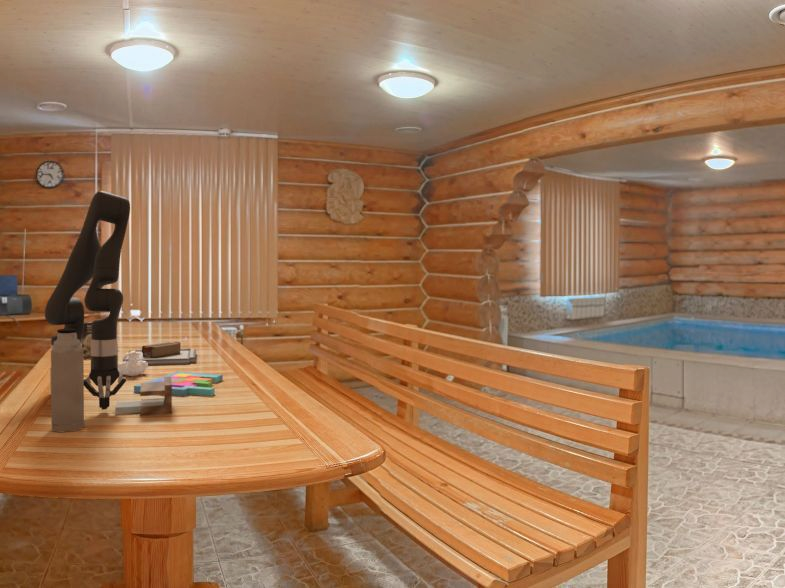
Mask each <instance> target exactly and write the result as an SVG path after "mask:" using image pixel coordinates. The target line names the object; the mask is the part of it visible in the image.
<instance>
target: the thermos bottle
mask: <svg viewBox="0 0 785 588" xmlns="http://www.w3.org/2000/svg"><path fill="white" fill-rule="evenodd" d="M56 332H57V333H58V335H57V340H56V341H54V345H53V346H54V349H52V350H51V349H50V368H51V385H50V396H51V398H50V399H51V406H50V407H51V431H52V430H54V431H53V432H55V431H70V432H74V431H75V430H76V431H80V430H82V429H83V428H84V427H85V404H84V403H85V392H84V390H85V386H84V379H85V378H84V373H85V371H84V367H85V365H84V362H85V361H84V357H83V348H81V341H80V340H78V339H77V334H76V332H77V329H64V328H60V329H57V331H56ZM76 431H75V432H76Z"/></svg>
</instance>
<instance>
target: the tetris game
mask: <svg viewBox="0 0 785 588" xmlns="http://www.w3.org/2000/svg"><path fill="white" fill-rule="evenodd" d="M164 377H171V382H172V396H175V397H176V396H177V397H185V396H188V394H191V395H192V396H203V397H204V396H205V397H212V396H214V395H215V393H216V392H215V387H212V385H213V384H217V383H216V382H218V383H219V381H220V382H222V381H224V380H223V374H220V373H219V374H218V373H217V374H216V373H207V372H206V373H205V372H193V371H192V372H191V371H190V372H189V371H175V372H171V373H169V374H165V375H163V376H160V377H157V378H154V379H151V380H148V381H144V382H143V383H149V382H164ZM221 380H222V381H221ZM140 390H141V383H139V384H136V385H133V393H137V394H138V393H139V394H140ZM191 395H190V396H191Z"/></svg>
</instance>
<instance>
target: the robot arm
mask: <svg viewBox="0 0 785 588" xmlns="http://www.w3.org/2000/svg"><path fill="white" fill-rule="evenodd" d="M130 213H131V203H130V200H129V199H128V198H126V197H124V196H120V195H117V194H113V193H112V192H111V193H110V192H107V191H103V190H98V191H97V192H95V194H94V195H93V196H92V199H91V202H90V205H89V206H88V210H87V213H86V215H85V218H84V221H83V224H82V228H81V231H80V233H79V235H78V237H77V239H76V242H75V244H74V247H73V249H72V250H71V252H70V256H69V258H68V261H67V263H66V265H65V268H64V270H63V272H62V274H61V277H60V279H59V281H58V283H57V285H56V286H55V288H54V290H53V292H52V294H51V295H50V297H49V299H48V300H47V302H46V305H45V309H44V318H45V321H46V322H47V323H48V324H49V325H51V326H63V329H77V332H76V334H77V339H78V340H80V341H82V337H83V331H84V322H85V308H86V310H88V311H90V312H94V313H95V312H108V313H109V314H108V315H107V317H104V318H99V319H95V320H93V321H91V322H92V341H91V357H90V372H89V374H88V376H87V377H86V378H84V389H86V390H88V392H89V393H90V394H91V396H93V397H96V398H98V407H99V408H100V409H101V410H103V411H104V410H107V409H108V408H109V407H110V403H111V402H110V397H112V396H115V395H116V394H117V393H118V392H119V390H121V388H122V387H123V386H124V384H126V382H127V377H124V376H123V375H120V373H119V371H118V364H119V361H118V359H119V357H118V356H119V355H118V354H119V346H118V345H119V344H118V331H117V330H118V320H119V316H120V312H121V309H122V306H123V303H124V295H123V292H121V290H120V289H118V288H104V287H105V286H108V285H111V284H115V283H117V282H118V280H119V274H120V263H121V262H120V261H121V255H122V254H121V253H122V248H123V244H124V240H125V237H126V232H127V226H128V222H129V219H130ZM99 221H101V222H105V223H109V224H113V225H114V227H113V228H114V229H113V232H112V234H111V235H110V236H109V237H108V239H107V240H106V241H105V242H104V243H103V244H102V245H101V243H100V240H99V236H98V231H97V228H98V227H97V226H98V225H99ZM90 280H91V281H90ZM89 281H90V284H89V285H88V289H87V291H86V293H85V295H84V301H82V300H81V299H80V298H79V297H73V296H74V295H75V294H76V293H77V292H78V291H79V290H80V289H81V288H82V287H84V286H85V285H86V284H87V283H88V282H89ZM83 303H84V304H83ZM84 307H85V308H84ZM57 335H58V332H57V333H56V334H54V335H52V336H51V339H50V344H51V345H50V351H51V350H52V349H54V346H53V345H54V341H56V340H57ZM81 348H82V343H81ZM49 369H50V373H49V374H50V375H49V376H50V386H51V367H50V368H49ZM116 381H117V384H116V385H115V387H114V388H113V389H112V390H111V387H112V386H113V385H114V383H115V382H116ZM92 382H93V384H94V385H95V386H97V390H96V388H95V387H93V385H92ZM104 387H105V391H104Z"/></svg>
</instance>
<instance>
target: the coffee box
mask: <svg viewBox="0 0 785 588" xmlns="http://www.w3.org/2000/svg"><path fill="white" fill-rule="evenodd" d="M92 322H93V321H84V331H83V337H82V341H81V343H82V348H83V358H91V341H92Z"/></svg>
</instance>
